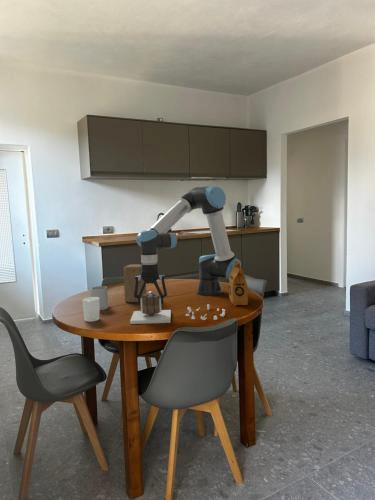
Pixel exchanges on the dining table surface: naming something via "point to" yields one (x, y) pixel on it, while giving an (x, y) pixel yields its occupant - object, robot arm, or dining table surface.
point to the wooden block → (132, 282)
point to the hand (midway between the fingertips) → (151, 311)
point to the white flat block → (151, 317)
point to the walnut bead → (150, 304)
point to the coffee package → (238, 286)
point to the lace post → (150, 295)
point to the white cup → (91, 308)
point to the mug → (100, 296)
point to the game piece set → (206, 314)
